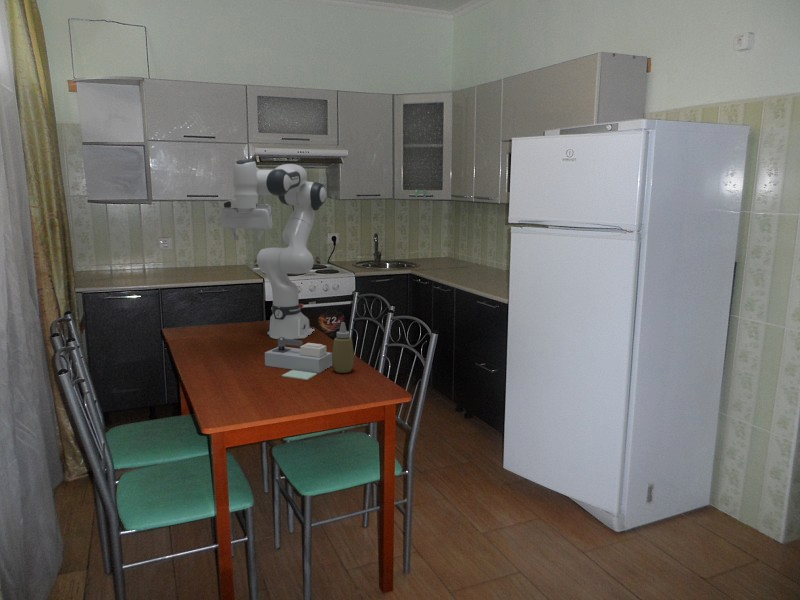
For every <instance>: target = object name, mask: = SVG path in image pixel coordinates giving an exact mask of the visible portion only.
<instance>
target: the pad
mask: <svg viewBox="0 0 800 600" xmlns="http://www.w3.org/2000/svg"><path fill="white" fill-rule="evenodd" d="M317 375H318V373H314V372H306V371H299V370H292V369H290V370H289V371H287V372H286V373H284V374H281V377H284V378H290V379H298V380H304V381H305V380H306V381H308V380H310V379H311V378H313V377H315V376H317Z"/></svg>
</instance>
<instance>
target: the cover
mask: <svg viewBox="0 0 800 600" xmlns="http://www.w3.org/2000/svg"><path fill="white" fill-rule="evenodd" d="M299 347H300V348H299V349H300V355H308V356H315V357H321V356H323V355H325V354H326V352H327V345H325V344H324V345H323V343H322V344H321V343H314V342H307V343H305V344H302V346H299Z"/></svg>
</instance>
